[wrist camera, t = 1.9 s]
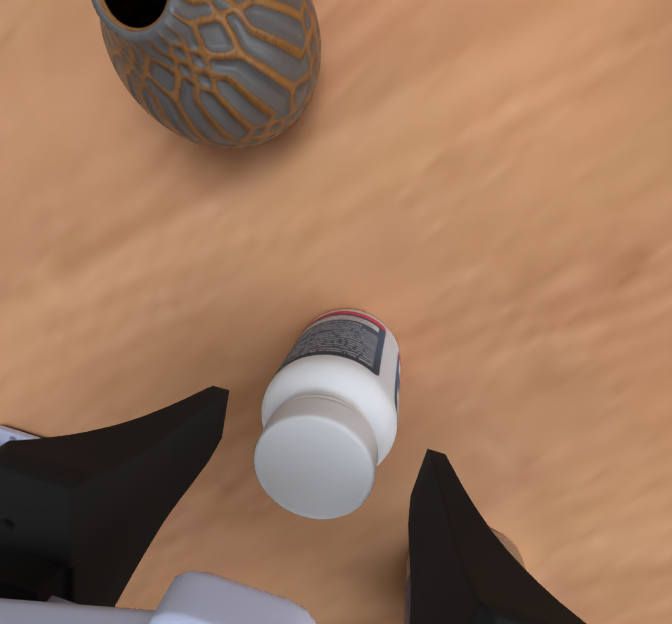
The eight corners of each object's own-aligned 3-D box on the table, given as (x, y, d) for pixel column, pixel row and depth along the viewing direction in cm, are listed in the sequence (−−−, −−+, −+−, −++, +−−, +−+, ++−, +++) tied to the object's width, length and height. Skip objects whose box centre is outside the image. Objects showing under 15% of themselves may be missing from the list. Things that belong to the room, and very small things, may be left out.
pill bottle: (279, 335, 22) (201, 433, 14) (367, 288, 21) (337, 367, 12) (332, 416, 23) (287, 553, 15) (419, 377, 22) (424, 506, 13)
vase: (152, 28, 19) (-51, -85, 10) (289, -67, 17) (172, -296, 9) (227, 178, 20) (101, 183, 12) (361, 106, 18) (319, 53, 10)
